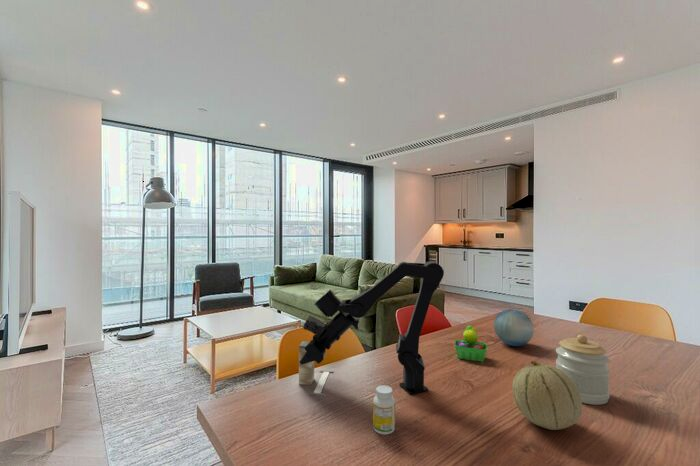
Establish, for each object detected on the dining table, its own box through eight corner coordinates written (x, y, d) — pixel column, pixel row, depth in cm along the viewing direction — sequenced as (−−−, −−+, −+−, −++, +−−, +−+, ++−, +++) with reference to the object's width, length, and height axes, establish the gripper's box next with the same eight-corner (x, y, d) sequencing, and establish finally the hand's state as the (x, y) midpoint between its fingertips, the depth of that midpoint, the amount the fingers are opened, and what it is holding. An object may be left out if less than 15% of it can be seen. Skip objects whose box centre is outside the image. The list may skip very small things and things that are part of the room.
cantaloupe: (584, 452, 70) (584, 384, 70) (509, 430, 78) (509, 368, 77) (579, 418, 82) (579, 360, 82) (514, 402, 90) (515, 349, 90)
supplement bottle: (387, 438, 74) (387, 397, 74) (368, 429, 78) (368, 389, 78) (399, 427, 78) (399, 388, 78) (381, 419, 82) (381, 381, 82)
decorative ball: (534, 343, 137) (534, 308, 137) (532, 354, 125) (532, 316, 125) (496, 336, 145) (496, 303, 145) (491, 347, 133) (491, 310, 133)
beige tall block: (314, 378, 104) (314, 342, 104) (311, 384, 100) (311, 346, 100) (302, 378, 104) (302, 341, 104) (298, 384, 100) (298, 345, 100)
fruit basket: (454, 359, 120) (454, 329, 120) (455, 351, 128) (455, 322, 128) (487, 364, 116) (487, 333, 116) (486, 355, 124) (486, 326, 124)
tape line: (320, 370, 110) (320, 370, 110) (333, 371, 109) (333, 371, 109) (308, 394, 94) (308, 394, 94) (323, 395, 93) (323, 395, 93)
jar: (594, 410, 86) (595, 345, 86) (546, 389, 98) (546, 331, 97) (618, 399, 92) (619, 337, 92) (570, 380, 104) (570, 325, 103)
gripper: (324, 302, 111) (293, 332, 112) (311, 316, 92) (274, 352, 94) (347, 325, 110) (315, 356, 111) (338, 345, 91) (301, 381, 93)
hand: (302, 360), depth 102 cm, fingers closed on beige tall block, 4 cm apart
